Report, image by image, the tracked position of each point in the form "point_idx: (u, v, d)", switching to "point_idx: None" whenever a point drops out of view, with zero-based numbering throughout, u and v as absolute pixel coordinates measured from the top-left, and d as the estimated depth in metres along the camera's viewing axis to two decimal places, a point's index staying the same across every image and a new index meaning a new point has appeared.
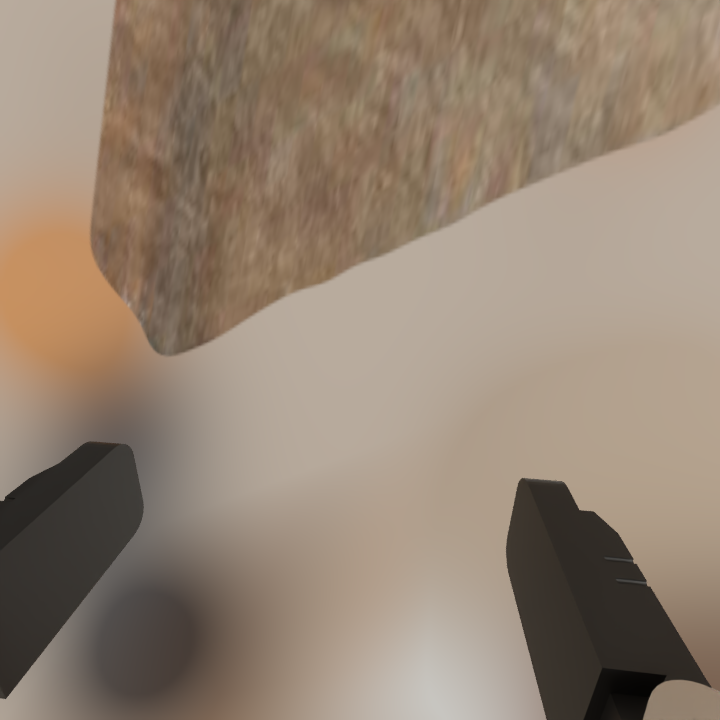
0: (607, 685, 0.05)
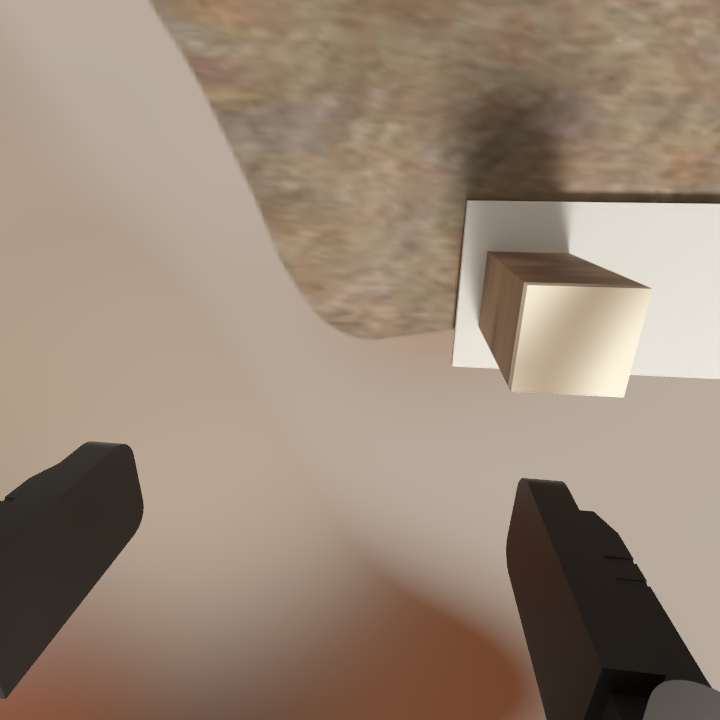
0: (607, 685, 0.05)
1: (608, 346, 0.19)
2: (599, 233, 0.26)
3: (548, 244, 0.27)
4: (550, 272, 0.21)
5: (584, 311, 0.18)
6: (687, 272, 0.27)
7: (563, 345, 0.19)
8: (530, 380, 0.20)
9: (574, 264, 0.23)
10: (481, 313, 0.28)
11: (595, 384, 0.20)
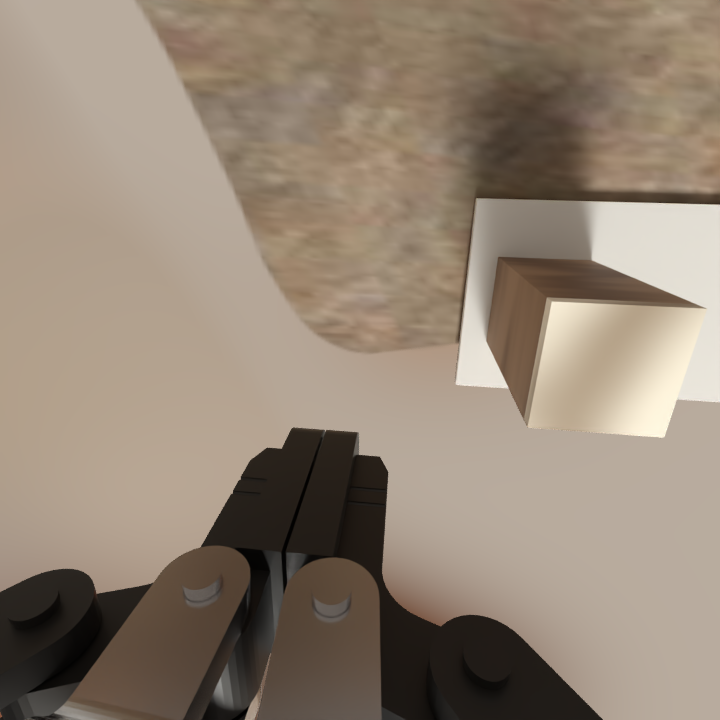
0: (295, 567, 0.06)
1: (648, 377, 0.16)
2: (627, 238, 0.23)
3: (568, 249, 0.24)
4: (576, 284, 0.18)
5: (620, 334, 0.15)
6: None
7: (593, 374, 0.16)
8: (551, 415, 0.16)
9: (601, 274, 0.20)
10: (490, 326, 0.25)
11: (630, 421, 0.16)
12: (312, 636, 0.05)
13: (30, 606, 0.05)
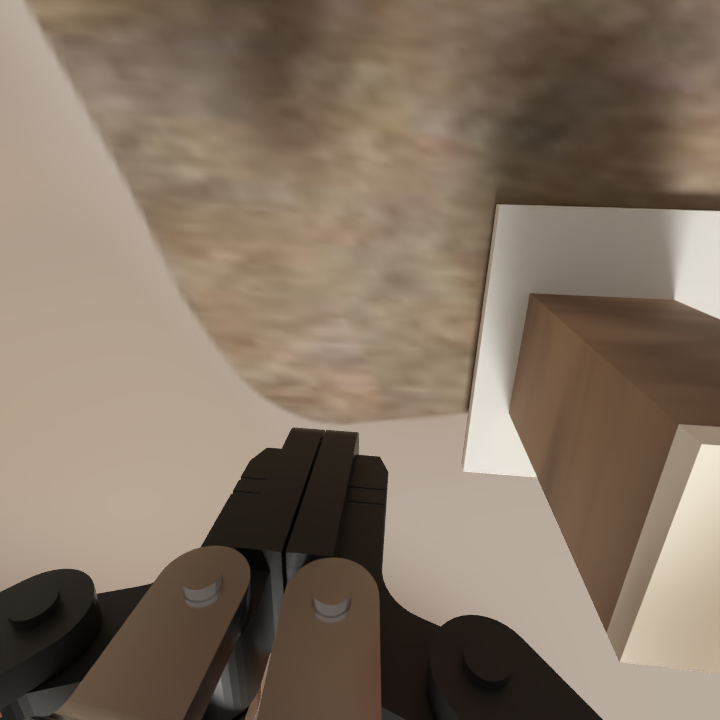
0: (295, 567, 0.06)
1: None
2: None
3: (638, 284, 0.15)
4: (701, 370, 0.09)
5: None
6: None
7: None
8: (671, 645, 0.08)
9: None
10: (515, 395, 0.17)
11: None
12: (312, 636, 0.05)
13: (30, 605, 0.05)
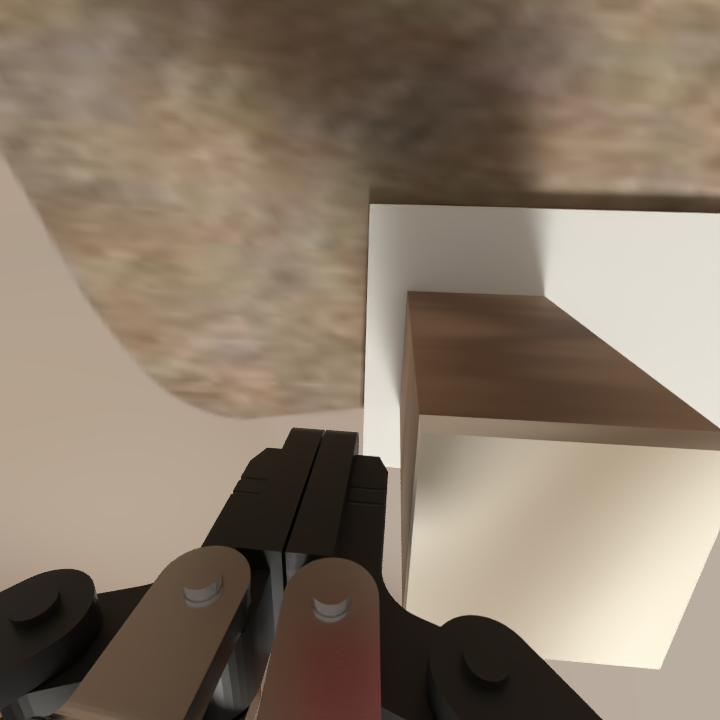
0: (295, 567, 0.06)
1: (628, 572, 0.08)
2: (596, 264, 0.15)
3: (509, 280, 0.16)
4: (497, 363, 0.10)
5: (568, 497, 0.07)
6: None
7: (517, 564, 0.08)
8: None
9: (551, 331, 0.12)
10: (401, 391, 0.17)
11: (595, 642, 0.08)
12: (312, 636, 0.05)
13: (30, 606, 0.05)
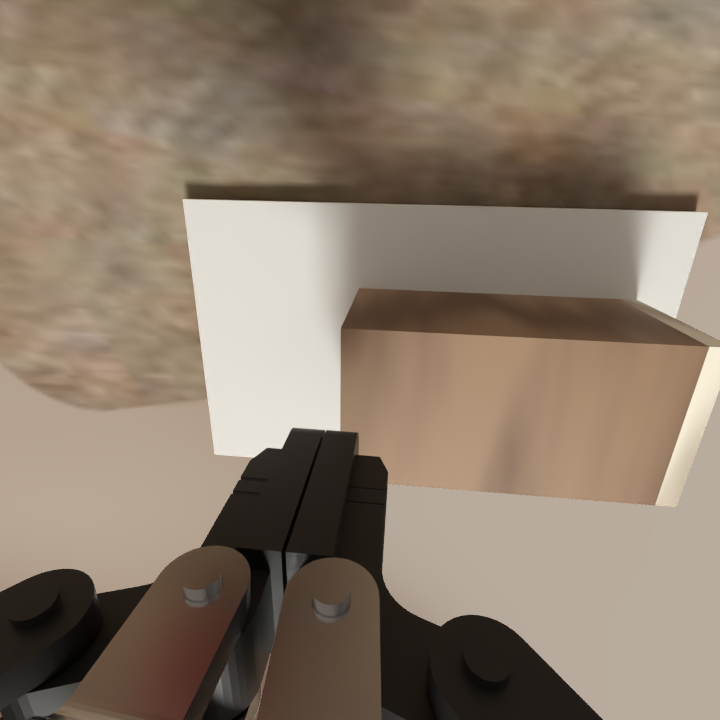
0: (295, 567, 0.06)
1: None
2: (401, 256, 0.16)
3: (323, 273, 0.16)
4: (577, 321, 0.13)
5: None
6: None
7: None
8: None
9: (479, 300, 0.15)
10: None
11: None
12: (312, 636, 0.05)
13: (30, 606, 0.05)
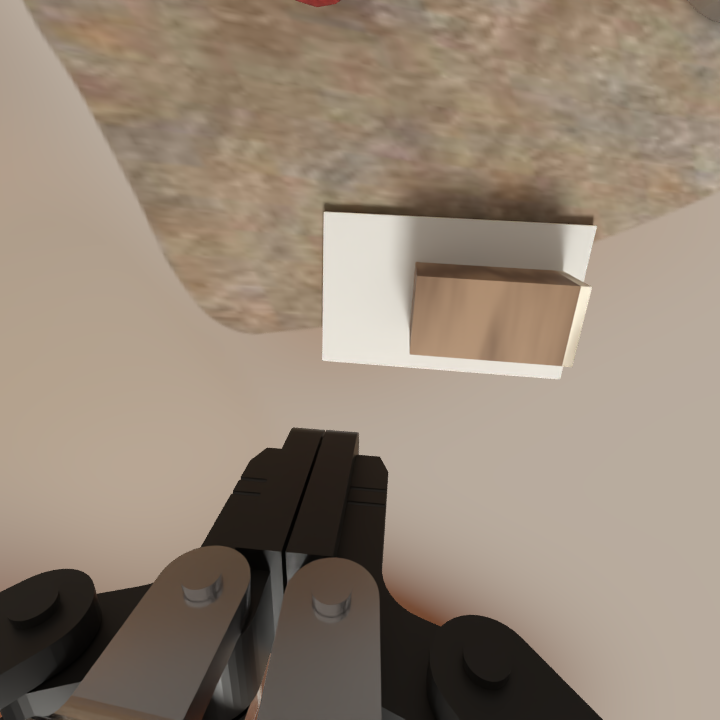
0: (295, 567, 0.06)
1: None
2: (439, 245, 0.30)
3: (396, 253, 0.30)
4: (527, 277, 0.27)
5: None
6: None
7: None
8: None
9: (480, 268, 0.29)
10: (419, 339, 0.27)
11: None
12: (312, 635, 0.05)
13: (30, 606, 0.05)
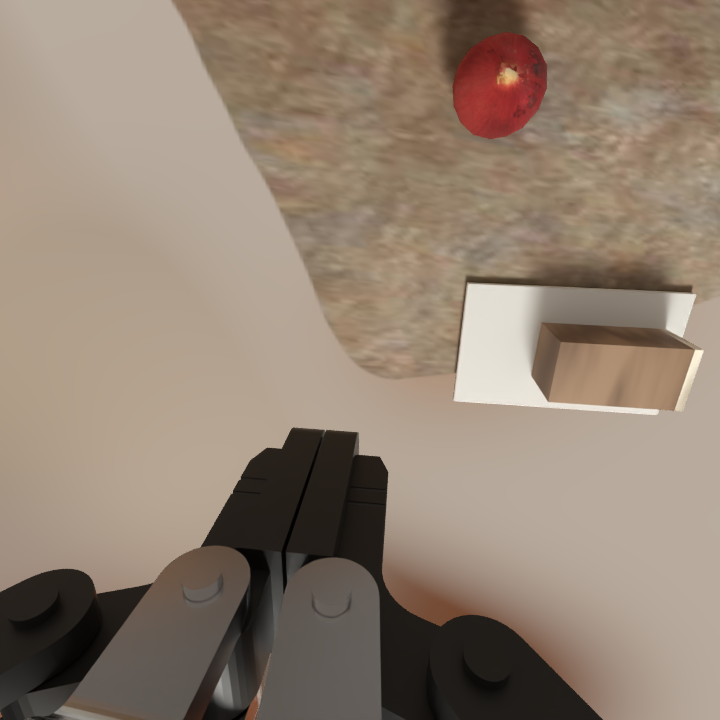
0: (295, 567, 0.06)
1: None
2: (563, 309, 0.36)
3: (526, 315, 0.37)
4: (645, 339, 0.33)
5: None
6: None
7: None
8: None
9: (599, 329, 0.35)
10: (557, 390, 0.34)
11: None
12: (312, 636, 0.05)
13: (30, 605, 0.05)
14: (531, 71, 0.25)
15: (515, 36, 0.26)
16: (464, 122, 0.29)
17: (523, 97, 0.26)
